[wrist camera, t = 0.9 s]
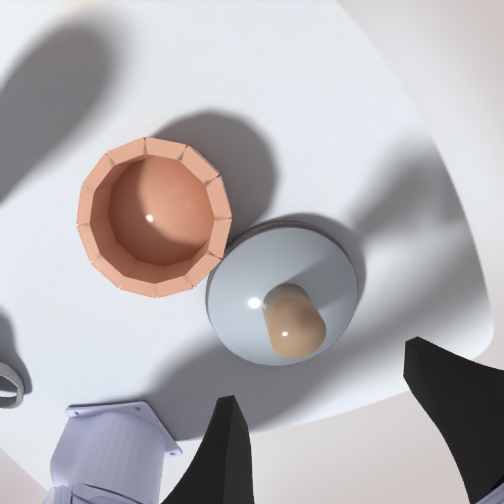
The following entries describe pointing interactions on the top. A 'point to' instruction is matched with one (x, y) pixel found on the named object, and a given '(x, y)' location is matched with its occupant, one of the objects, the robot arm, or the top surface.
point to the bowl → (154, 217)
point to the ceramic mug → (17, 381)
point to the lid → (282, 296)
